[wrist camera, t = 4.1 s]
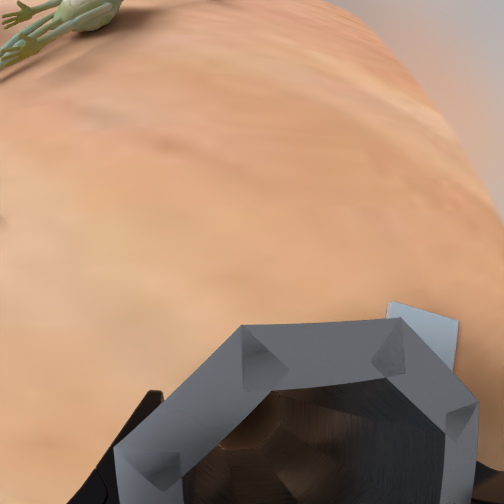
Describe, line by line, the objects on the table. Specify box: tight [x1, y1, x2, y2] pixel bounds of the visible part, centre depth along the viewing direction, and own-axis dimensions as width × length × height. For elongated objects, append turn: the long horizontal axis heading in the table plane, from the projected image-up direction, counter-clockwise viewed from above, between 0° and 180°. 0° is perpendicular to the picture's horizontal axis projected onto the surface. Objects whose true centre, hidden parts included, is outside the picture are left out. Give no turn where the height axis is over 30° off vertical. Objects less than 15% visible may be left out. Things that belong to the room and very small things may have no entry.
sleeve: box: [114, 317, 479, 504], centre depth 9 cm, size 6×6×12 cm
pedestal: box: [386, 301, 459, 372], centre depth 16 cm, size 11×6×3 cm, turn 165°
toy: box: [0, 0, 123, 70], centre depth 21 cm, size 11×7×30 cm
